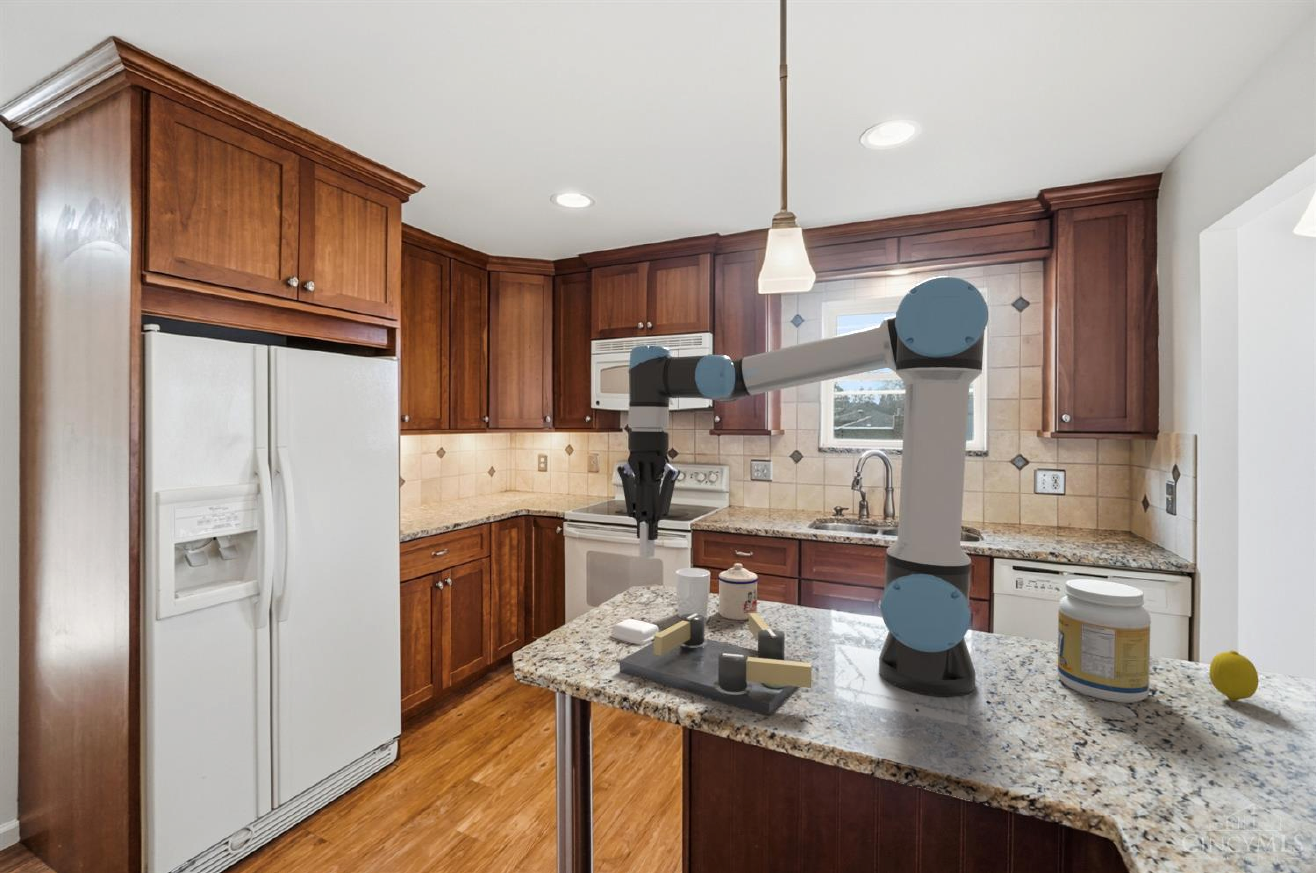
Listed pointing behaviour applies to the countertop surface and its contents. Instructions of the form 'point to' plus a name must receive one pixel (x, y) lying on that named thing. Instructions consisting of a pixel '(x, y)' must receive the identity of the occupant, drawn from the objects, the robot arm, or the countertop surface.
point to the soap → (635, 631)
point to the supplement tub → (1104, 640)
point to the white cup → (692, 591)
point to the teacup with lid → (737, 593)
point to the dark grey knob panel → (703, 674)
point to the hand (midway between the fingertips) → (646, 556)
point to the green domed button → (774, 685)
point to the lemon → (1233, 675)
